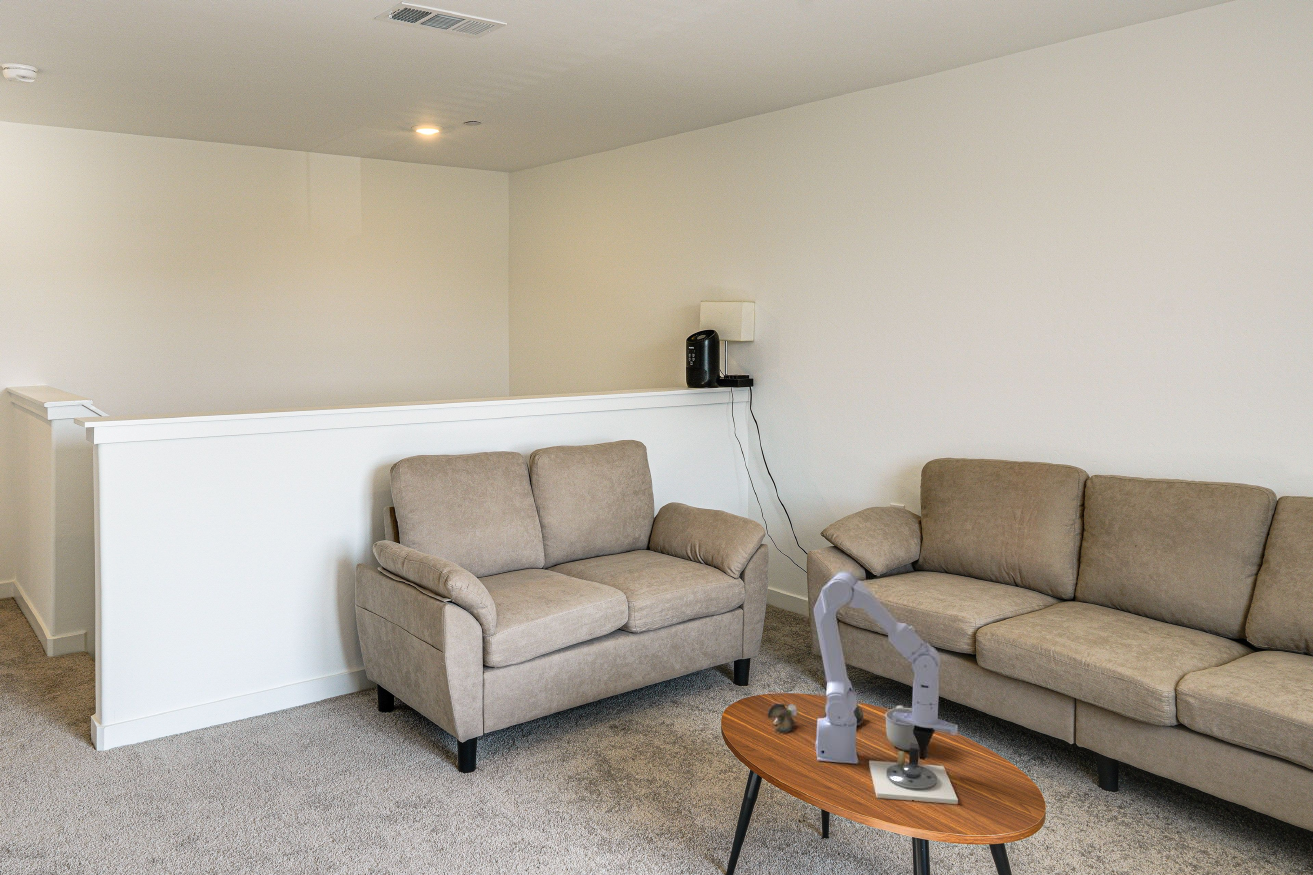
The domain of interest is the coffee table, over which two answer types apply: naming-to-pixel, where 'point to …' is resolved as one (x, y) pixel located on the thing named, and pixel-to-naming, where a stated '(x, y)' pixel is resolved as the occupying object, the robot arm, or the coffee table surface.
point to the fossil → (857, 713)
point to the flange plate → (916, 781)
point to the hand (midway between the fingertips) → (923, 757)
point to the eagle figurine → (782, 716)
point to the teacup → (899, 730)
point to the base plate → (893, 791)
